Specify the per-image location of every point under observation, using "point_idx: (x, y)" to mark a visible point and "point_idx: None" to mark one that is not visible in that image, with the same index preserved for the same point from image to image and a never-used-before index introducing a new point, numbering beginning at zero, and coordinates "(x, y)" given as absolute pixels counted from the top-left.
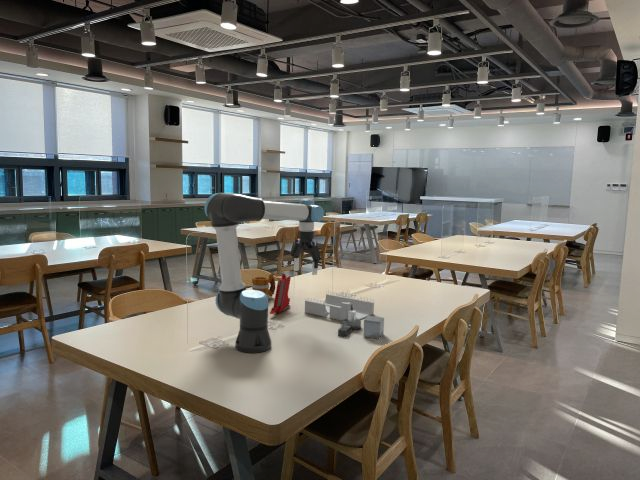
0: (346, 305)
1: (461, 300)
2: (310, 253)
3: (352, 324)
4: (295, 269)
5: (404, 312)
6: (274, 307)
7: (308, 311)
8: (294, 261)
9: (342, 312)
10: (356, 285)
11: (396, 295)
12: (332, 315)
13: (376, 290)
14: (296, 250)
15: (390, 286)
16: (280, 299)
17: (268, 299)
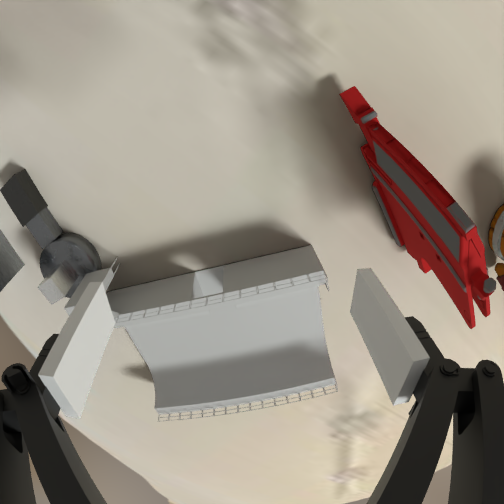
0: (71, 302)
1: (171, 496)
2: (63, 479)
3: (42, 251)
4: (361, 282)
5: (144, 428)
6: (371, 123)
7: (294, 252)
8: (408, 329)
9: (96, 281)
10: (380, 457)
11: (266, 474)
12: (180, 281)
13: (324, 468)
14: (461, 458)
15: (322, 485)
16: (395, 178)
17: (490, 242)
